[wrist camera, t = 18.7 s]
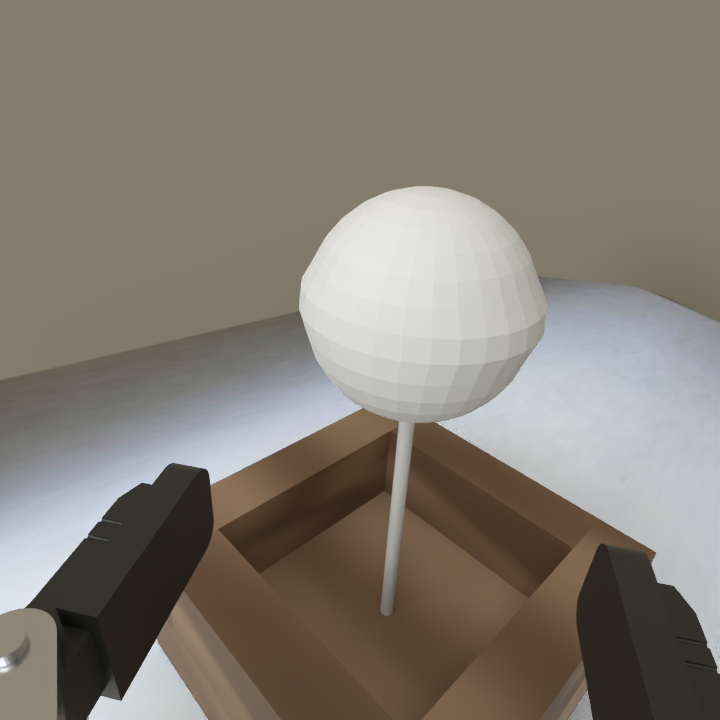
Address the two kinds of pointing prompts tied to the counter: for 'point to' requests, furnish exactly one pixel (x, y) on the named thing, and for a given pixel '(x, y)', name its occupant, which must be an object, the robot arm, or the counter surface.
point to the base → (365, 582)
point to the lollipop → (420, 316)
